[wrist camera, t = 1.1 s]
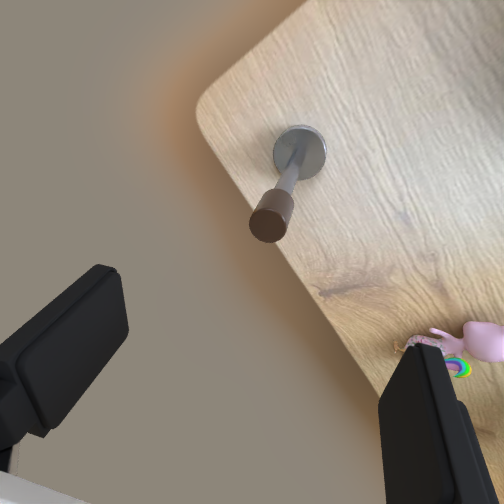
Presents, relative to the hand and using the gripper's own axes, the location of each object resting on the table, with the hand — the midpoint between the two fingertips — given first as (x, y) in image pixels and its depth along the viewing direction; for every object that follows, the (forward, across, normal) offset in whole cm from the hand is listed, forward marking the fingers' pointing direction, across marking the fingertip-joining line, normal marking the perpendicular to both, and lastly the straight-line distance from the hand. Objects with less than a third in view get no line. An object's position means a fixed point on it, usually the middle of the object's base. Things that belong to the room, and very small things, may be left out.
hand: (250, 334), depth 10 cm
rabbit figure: (+23, -20, +16) cm, 34 cm away
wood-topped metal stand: (+22, +1, 0) cm, 22 cm away
